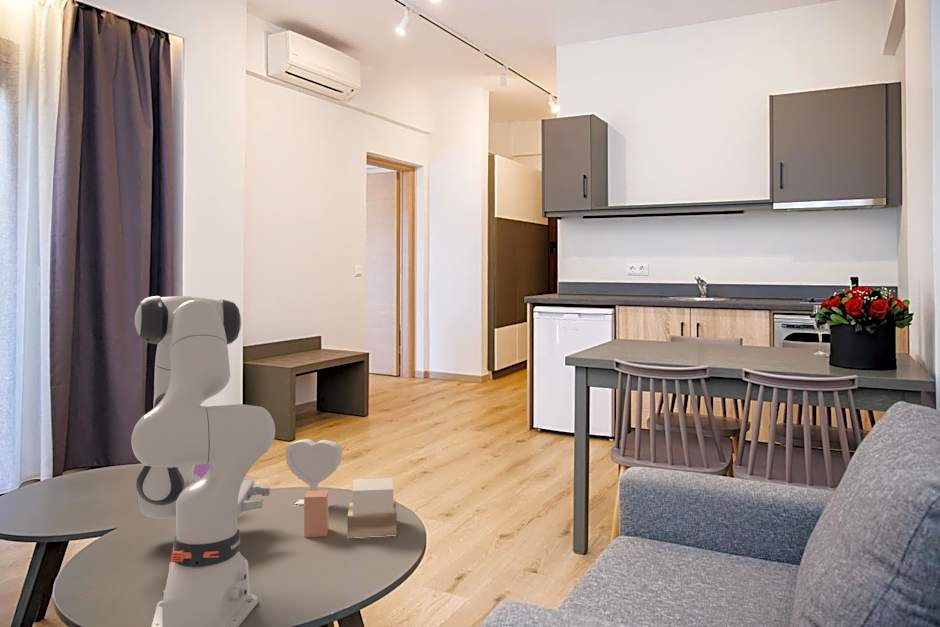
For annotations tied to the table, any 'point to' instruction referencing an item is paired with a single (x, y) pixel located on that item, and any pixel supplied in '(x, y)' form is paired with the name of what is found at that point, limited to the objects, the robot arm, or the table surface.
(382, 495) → the tower top
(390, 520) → the tower base
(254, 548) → the table surface
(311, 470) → the heart sculpture
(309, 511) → the terracotta block
